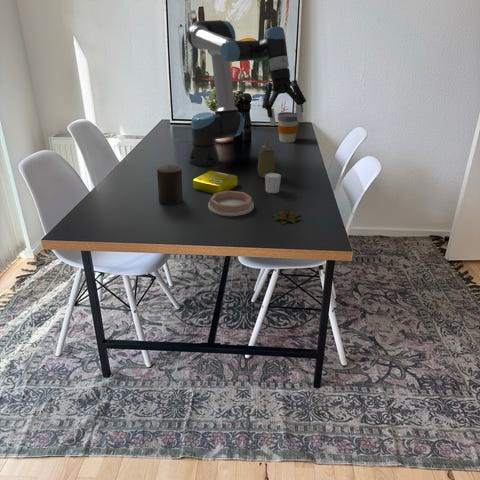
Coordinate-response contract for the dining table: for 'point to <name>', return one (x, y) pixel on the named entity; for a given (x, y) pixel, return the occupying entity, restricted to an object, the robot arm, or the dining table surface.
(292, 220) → the succulent plant
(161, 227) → the dining table surface
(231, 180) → the yellow square box
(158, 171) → the pillar candle
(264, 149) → the squeeze bottle
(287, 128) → the reusable coffee cup
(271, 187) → the shot glass
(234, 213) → the pink round shallow dish
